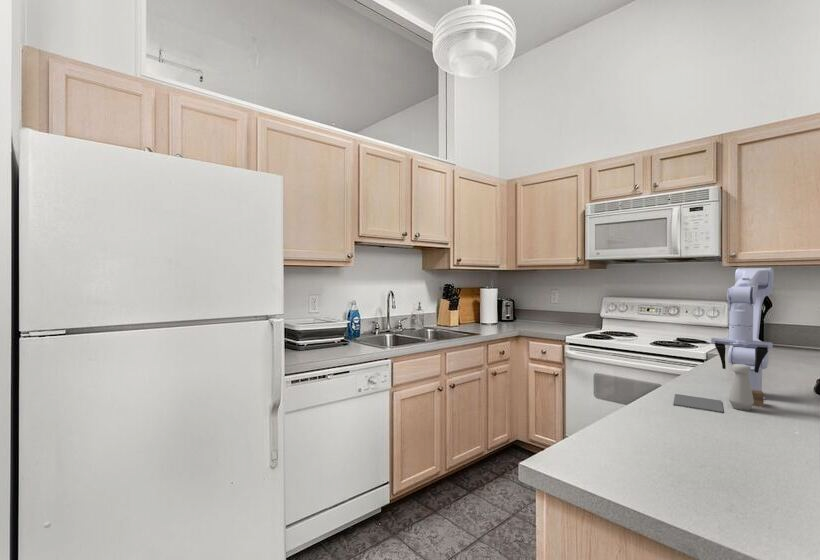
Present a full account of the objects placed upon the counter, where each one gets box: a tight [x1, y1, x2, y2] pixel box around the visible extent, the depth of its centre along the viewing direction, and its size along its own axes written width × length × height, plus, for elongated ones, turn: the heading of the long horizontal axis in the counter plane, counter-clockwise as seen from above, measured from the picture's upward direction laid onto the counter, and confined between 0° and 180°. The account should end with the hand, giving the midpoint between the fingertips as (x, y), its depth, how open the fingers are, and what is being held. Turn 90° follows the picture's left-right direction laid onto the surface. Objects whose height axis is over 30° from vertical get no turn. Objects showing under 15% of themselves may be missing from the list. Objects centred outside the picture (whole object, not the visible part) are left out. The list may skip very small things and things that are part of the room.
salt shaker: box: [728, 364, 754, 412], centre depth 120 cm, size 6×6×13 cm
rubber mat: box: [672, 393, 724, 414], centre depth 125 cm, size 13×12×1 cm
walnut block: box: [752, 390, 765, 408], centre depth 125 cm, size 4×4×4 cm
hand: (739, 370), depth 124 cm, fingers open, 7 cm apart
